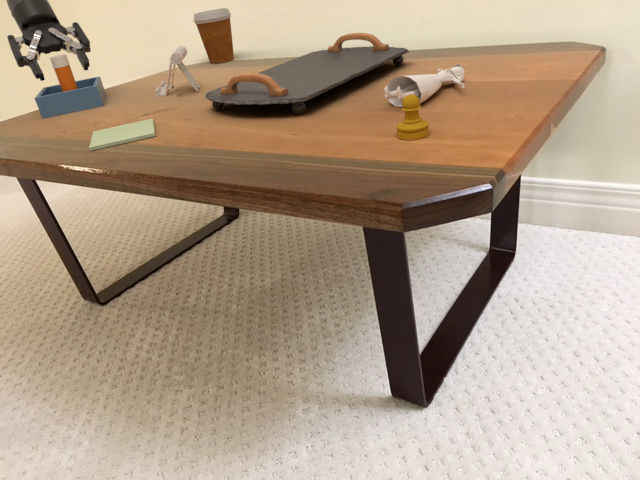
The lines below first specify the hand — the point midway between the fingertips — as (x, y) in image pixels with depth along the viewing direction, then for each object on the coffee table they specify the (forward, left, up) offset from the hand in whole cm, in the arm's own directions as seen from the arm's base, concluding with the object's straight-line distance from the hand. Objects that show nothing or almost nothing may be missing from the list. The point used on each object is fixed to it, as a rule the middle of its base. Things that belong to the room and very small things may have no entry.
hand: (64, 72), depth 107 cm
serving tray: (+44, -24, -8) cm, 50 cm away
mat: (+10, -29, -8) cm, 32 cm away
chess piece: (+46, -61, -8) cm, 77 cm away
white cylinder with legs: (+21, -4, -8) cm, 22 cm away
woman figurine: (+56, -46, -8) cm, 73 cm away
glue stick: (0, +1, -7) cm, 7 cm away
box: (0, +1, -8) cm, 8 cm away
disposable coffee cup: (+34, +26, -8) cm, 43 cm away
